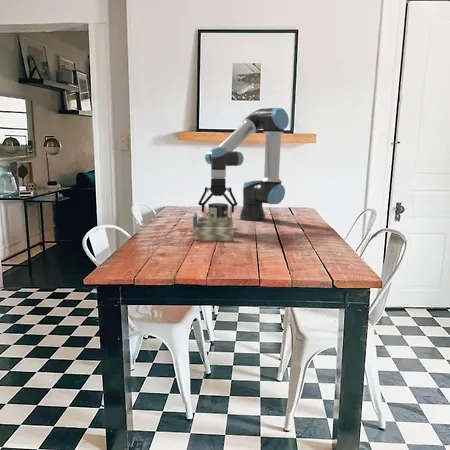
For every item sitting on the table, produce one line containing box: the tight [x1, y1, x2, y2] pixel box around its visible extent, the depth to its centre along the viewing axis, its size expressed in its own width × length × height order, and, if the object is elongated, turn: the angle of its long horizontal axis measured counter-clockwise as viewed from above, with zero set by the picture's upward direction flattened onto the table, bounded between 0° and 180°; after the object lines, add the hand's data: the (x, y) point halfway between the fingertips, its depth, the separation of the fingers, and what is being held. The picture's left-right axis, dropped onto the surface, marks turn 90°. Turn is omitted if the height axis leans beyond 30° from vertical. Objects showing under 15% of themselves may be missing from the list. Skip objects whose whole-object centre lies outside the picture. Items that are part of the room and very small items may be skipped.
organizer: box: [192, 212, 235, 242], centre depth 237 cm, size 19×32×11 cm, turn 0°
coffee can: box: [208, 202, 229, 222], centre depth 244 cm, size 10×10×14 cm
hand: (217, 218), depth 244 cm, fingers open, 13 cm apart
